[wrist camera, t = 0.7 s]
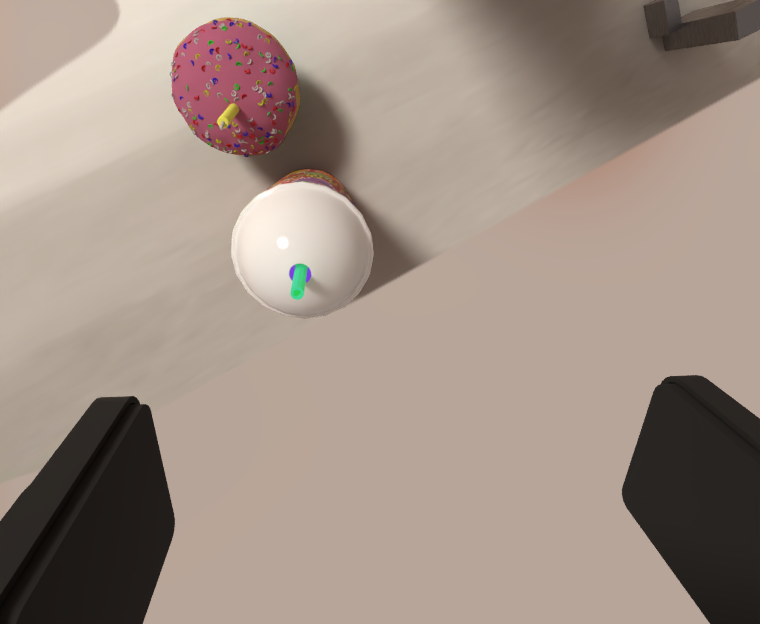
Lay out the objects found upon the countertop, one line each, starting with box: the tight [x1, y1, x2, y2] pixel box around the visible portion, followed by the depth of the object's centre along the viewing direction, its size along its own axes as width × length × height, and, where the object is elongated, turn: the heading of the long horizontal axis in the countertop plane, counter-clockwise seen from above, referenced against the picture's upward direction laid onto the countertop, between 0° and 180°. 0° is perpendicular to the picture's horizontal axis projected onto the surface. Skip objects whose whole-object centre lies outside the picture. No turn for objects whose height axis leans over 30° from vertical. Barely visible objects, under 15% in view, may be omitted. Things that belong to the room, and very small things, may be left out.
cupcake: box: [170, 18, 300, 157], centre depth 31 cm, size 9×8×12 cm
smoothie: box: [231, 168, 374, 318], centre depth 31 cm, size 8×8×20 cm
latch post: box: [644, 0, 760, 51], centre depth 34 cm, size 4×4×8 cm
